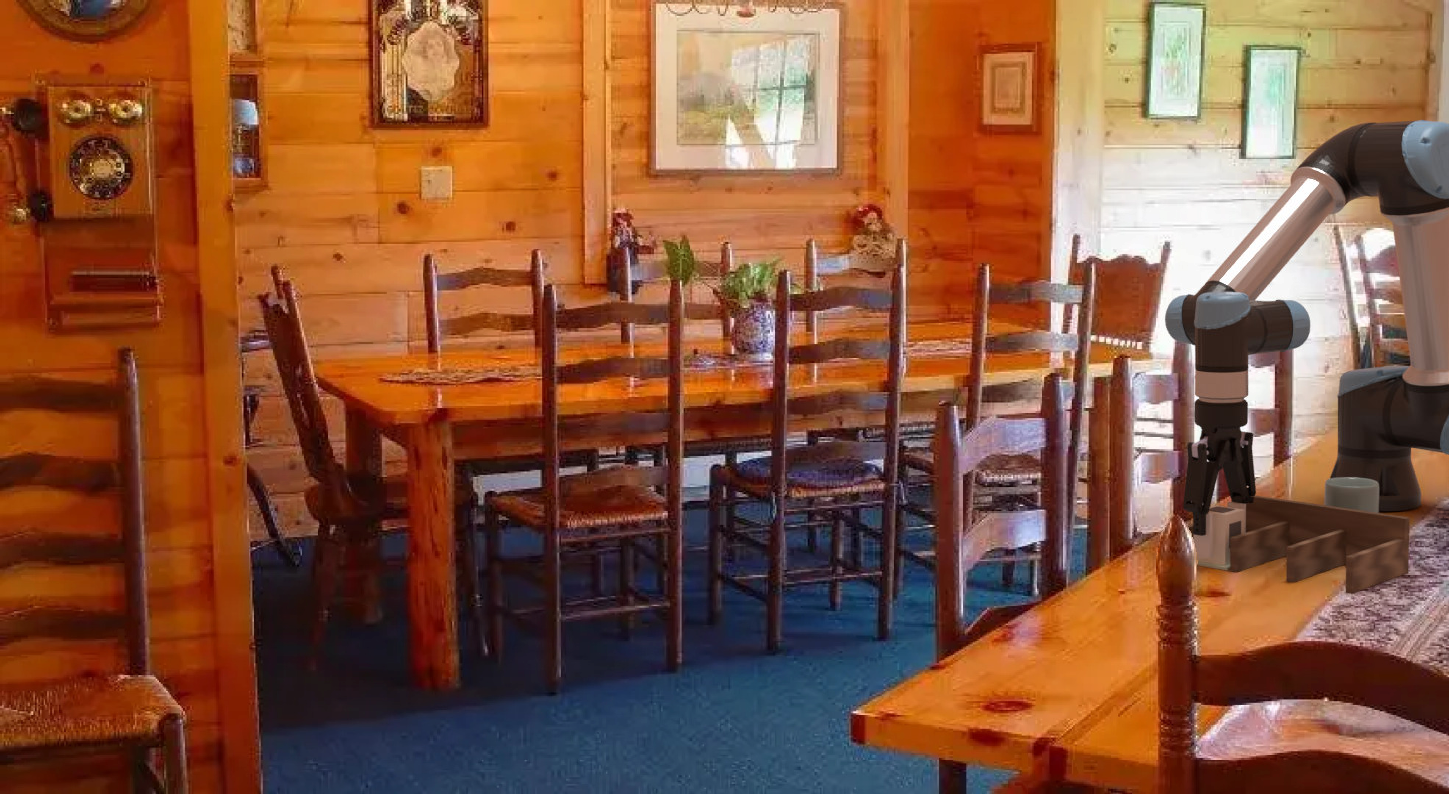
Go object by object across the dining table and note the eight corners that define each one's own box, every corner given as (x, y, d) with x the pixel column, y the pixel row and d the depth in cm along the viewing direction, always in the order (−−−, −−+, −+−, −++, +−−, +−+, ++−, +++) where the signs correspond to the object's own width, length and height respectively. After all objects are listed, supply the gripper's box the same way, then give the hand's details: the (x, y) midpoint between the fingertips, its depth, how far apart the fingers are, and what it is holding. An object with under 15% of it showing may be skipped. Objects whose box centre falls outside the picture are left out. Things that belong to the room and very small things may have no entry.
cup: (1381, 552, 262) (1383, 487, 260) (1327, 552, 263) (1328, 486, 262) (1373, 541, 269) (1375, 477, 268) (1320, 540, 271) (1321, 476, 269)
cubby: (1235, 543, 270) (1235, 492, 269) (1408, 572, 250) (1409, 517, 249) (1176, 561, 260) (1177, 508, 259) (1352, 593, 239) (1353, 536, 238)
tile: (1223, 551, 266) (1223, 548, 266) (1264, 558, 260) (1264, 555, 260) (1185, 563, 259) (1185, 560, 259) (1227, 570, 254) (1227, 568, 254)
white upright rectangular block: (1214, 554, 262) (1214, 504, 261) (1244, 559, 259) (1245, 509, 257) (1195, 560, 259) (1195, 509, 258) (1225, 565, 255) (1226, 514, 254)
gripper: (1238, 388, 265) (1236, 535, 268) (1157, 404, 251) (1156, 559, 254) (1282, 392, 259) (1280, 542, 263) (1202, 409, 246) (1201, 567, 249)
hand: (1219, 550), depth 259 cm, fingers open, 8 cm apart
